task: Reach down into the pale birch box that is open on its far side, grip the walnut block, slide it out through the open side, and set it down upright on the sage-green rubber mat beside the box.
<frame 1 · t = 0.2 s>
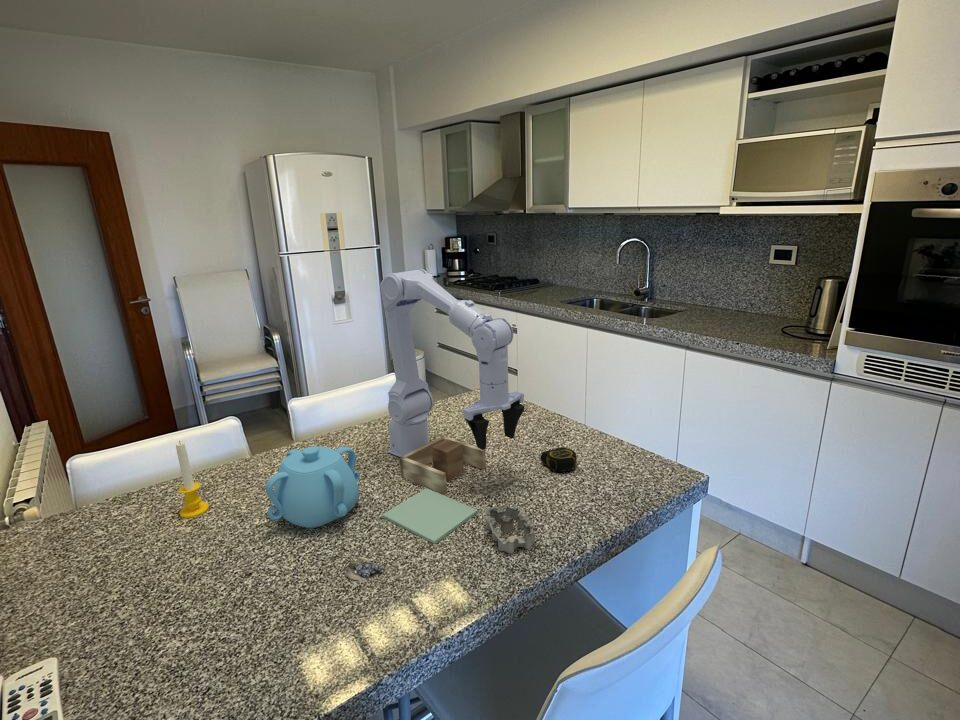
hand: (495, 442, 105), 10 cm above the kitchen island, fingers open, 7 cm apart
walnut block: (448, 474, 113), on the kitchen island
sage mat: (430, 515, 98), on the kitchen island
egg carton: (509, 536, 91), on the kitchen island
blueberries: (371, 572, 84), on the kitchen island
open-side box: (445, 472, 114), on the kitchen island
candle: (195, 511, 103), on the kitchen island
decorative pot: (319, 512, 101), on the kitchen island
tape measure: (558, 467, 115), on the kitchen island
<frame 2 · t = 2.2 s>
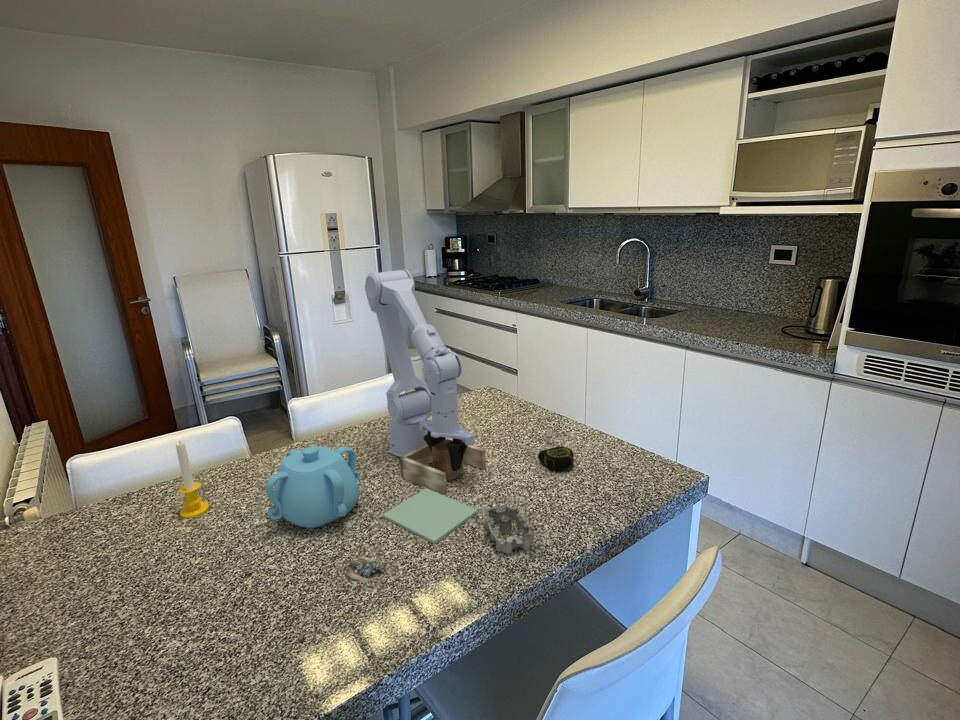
hand: (448, 466, 113), 2 cm above the kitchen island, fingers closed on walnut block, 4 cm apart
walnut block: (448, 473, 113), on the kitchen island, touching gripper
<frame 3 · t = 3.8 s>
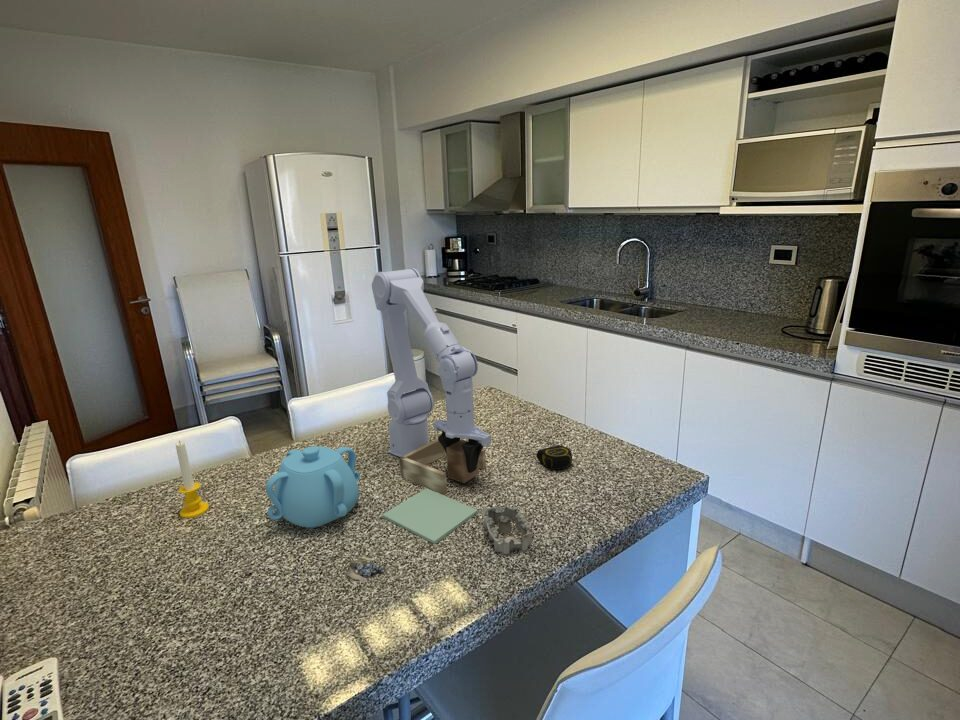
hand: (463, 467, 110), 3 cm above the kitchen island, fingers closed on walnut block, 4 cm apart
walnut block: (463, 475, 110), point 1 cm above the kitchen island, touching gripper
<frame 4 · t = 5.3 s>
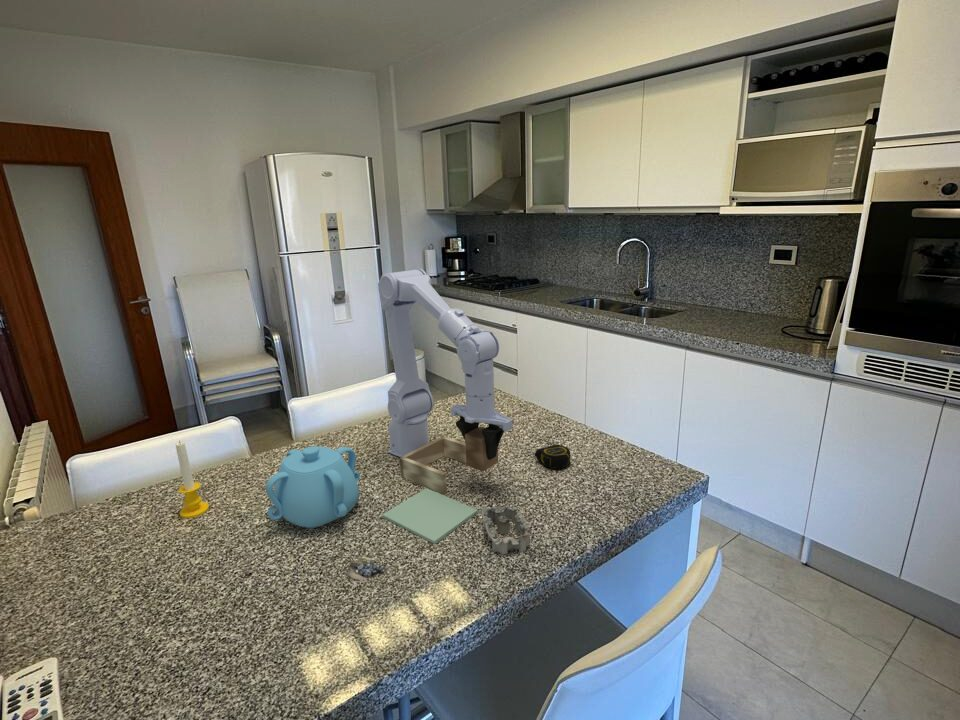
hand: (482, 454, 105), 8 cm above the kitchen island, fingers closed on walnut block, 4 cm apart
walnut block: (482, 463, 106), point 5 cm above the kitchen island, touching gripper
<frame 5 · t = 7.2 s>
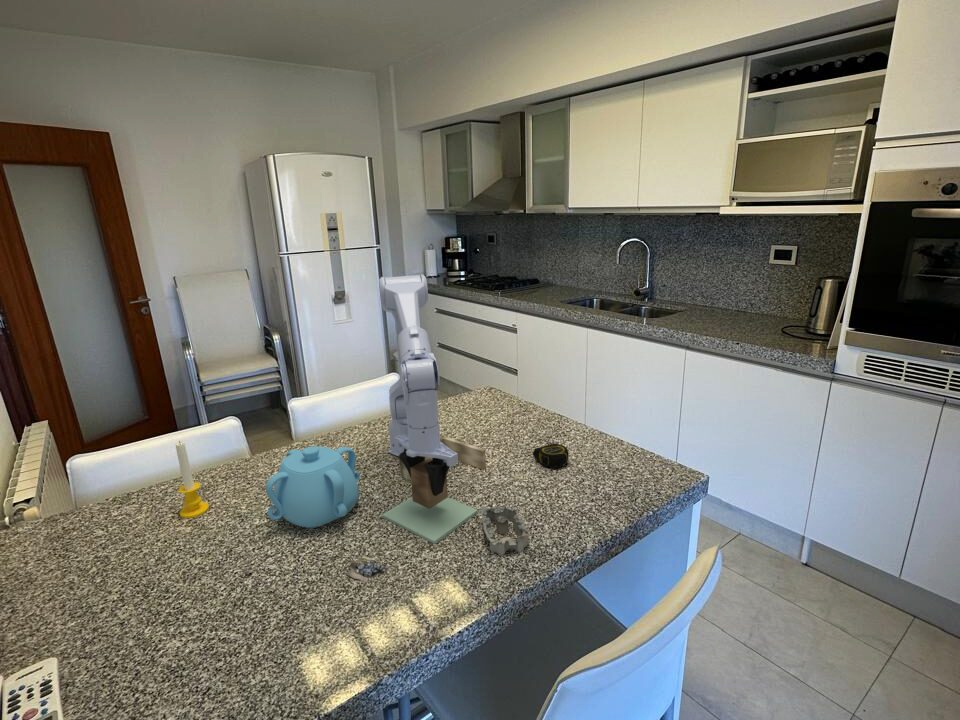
hand: (428, 489, 96), 6 cm above the kitchen island, fingers closed on walnut block, 4 cm apart
walnut block: (430, 499, 97), point 3 cm above the kitchen island, touching gripper
when the fingers open (3 cm above the kitchen island, at t = 8.6 s): walnut block stays where it is, resting on sage mat.
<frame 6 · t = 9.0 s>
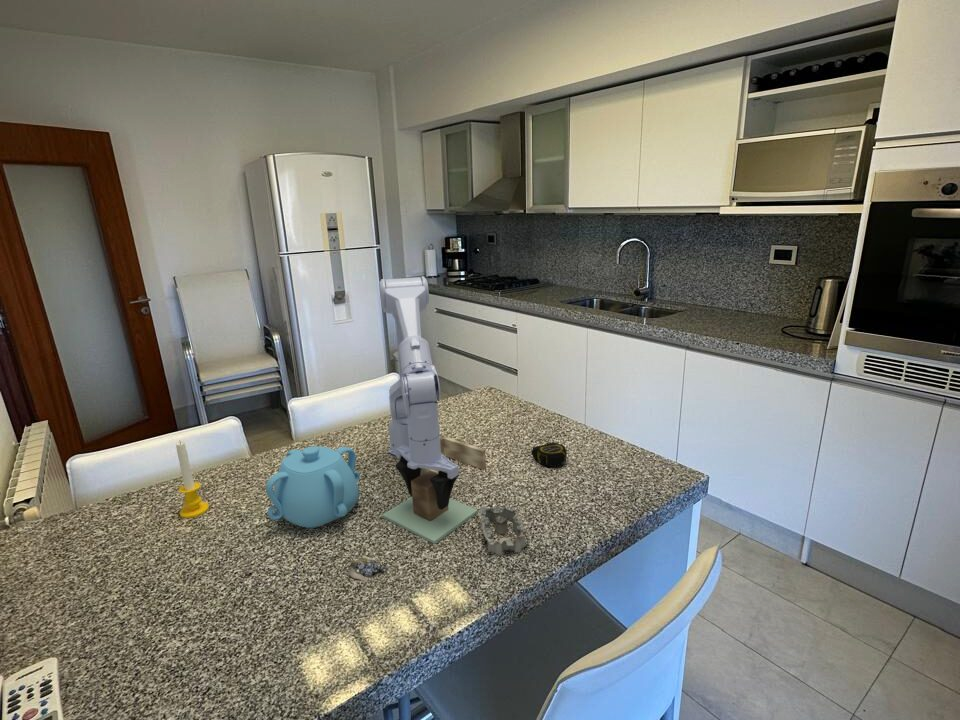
hand: (429, 500, 97), 3 cm above the kitchen island, fingers open, 7 cm apart
walnut block: (431, 511, 98), point 1 cm above the kitchen island, touching sage mat
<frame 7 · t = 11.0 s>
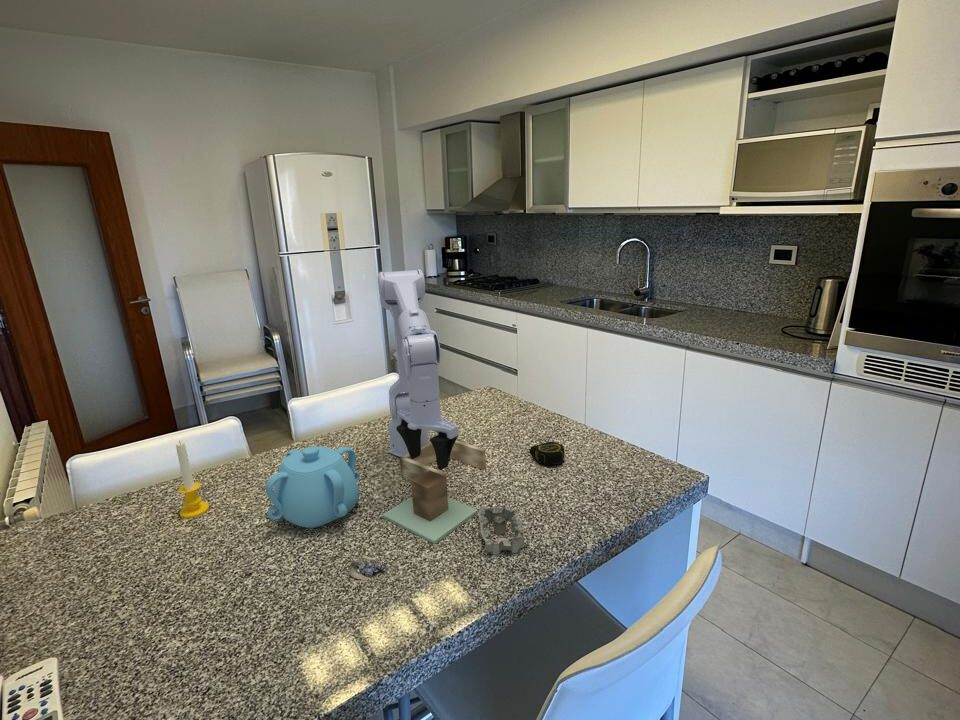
hand: (429, 462, 99), 9 cm above the kitchen island, fingers open, 7 cm apart
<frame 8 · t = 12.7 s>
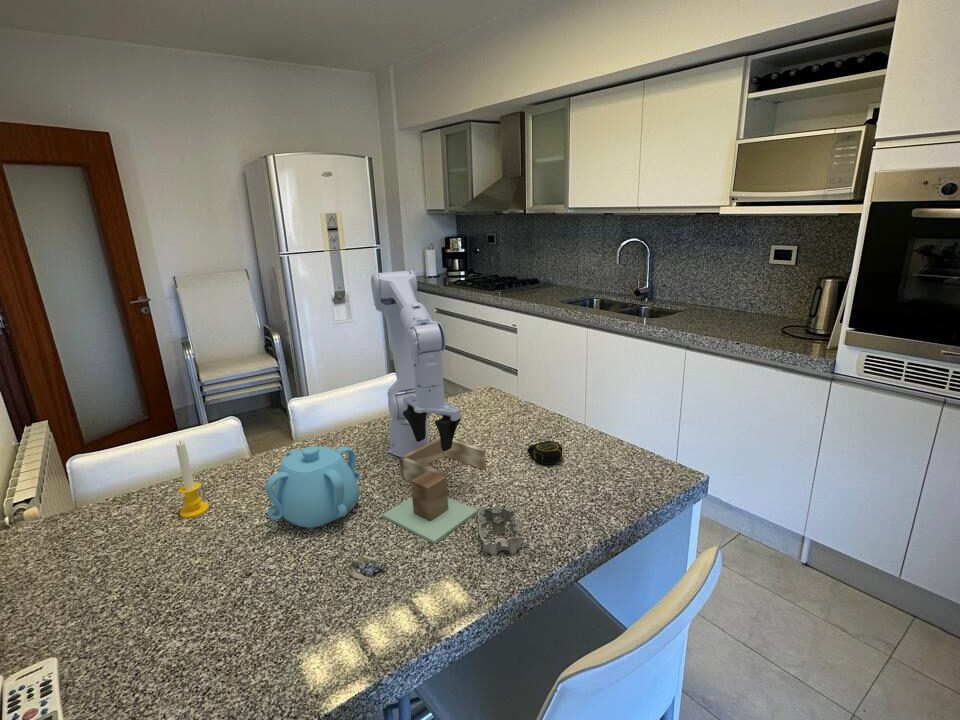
hand: (433, 444, 106), 9 cm above the kitchen island, fingers open, 7 cm apart
at the end: walnut block inside the target area on the sage mat (0.3 cm from its centre), point 0.6 cm above the sage mat's base; walnut block tilted 0°; the gripper is holding nothing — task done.
